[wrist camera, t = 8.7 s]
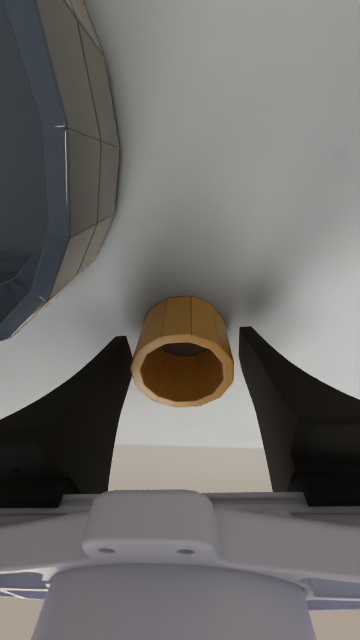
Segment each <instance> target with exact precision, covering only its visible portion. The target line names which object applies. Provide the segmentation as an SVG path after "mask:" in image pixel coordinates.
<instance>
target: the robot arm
mask: <svg viewBox="0 0 360 640" xmlns="http://www.w3.org/2000/svg"><path fill="white" fill-rule="evenodd" d="M132 359H133V357H132V354H131V350H130V347H129V344H128V341H127V338H126V336H117V337H115V338H114V339H113V340H112V341H111V342H110V343H109V344H108V345H107V346H106V347H105V348H104V349H103V350H102V351H101V352H100V353H98V354H97V355H96V356H95V357H94V358H93V359H92V360H91V361H90V362H89V363H88V364H87V365H86V366H84V367H83V368H82V369H81V370H80V371H79V372H77V373H76V374H75V375H74V376H72V377H71V378H70V379H69V380H67V381H66V382H65V383H63V384H62V385H60V386H59V387H57V388H56V389H54V390H53V391H51V392H50V393H48V394H47V395H45V396H44V397H42V398H40V399H39V400H37V401H35V402H34V403H32V404H30V405H28V406H26V407H25V408H23V409H21V410H19V411H17V412H15V413H13V414H11V415H9V416H7V417H5V418H3V419H1V420H0V597H10V598H22V599H34V600H44V603H43V606H42V609H41V612H40V615H39V618H38V621H37V624H36V627H35V630H34V633H33V636H32V639H31V640H316V636H315V633H314V629H313V625H312V622H311V618H310V614H309V611H340V610H341V611H345V610H360V400H359V399H356V398H354V397H352V396H349V395H347V394H345V393H343V392H341V391H339V390H337V389H335V388H333V387H331V386H329V385H327V384H325V383H323V382H321V381H319V380H318V379H316V378H314V377H313V376H311V375H309V374H308V373H306V372H304V371H303V370H301V369H300V368H298V367H297V366H295V365H294V364H292V363H291V362H290V361H288V360H287V359H286V358H284V357H283V356H282V355H281V354H280V353H278V352H277V351H276V350H275V349H274V348H273V347H272V346H270V345H269V344H268V343H267V342H266V341H265V340H264V339H263V338H262V337H261V336H260V335H259V334H258V333H257V332H256V331H255V330H254V329H253V328H252V327H251V326H248V327H240V330H239V359H240V364H241V368H242V372H243V375H244V378H245V381H246V384H247V387H248V390H249V393H250V396H251V398H252V401H253V404H254V408H255V411H256V415H257V419H258V423H259V427H260V432H261V436H262V441H263V445H264V450H265V454H266V459H267V464H268V469H269V473H270V479H271V484H272V489H273V492H245V493H199V492H196V491H190V490H115V491H108V483H109V475H110V468H111V461H112V455H113V448H114V443H115V437H116V432H117V427H118V422H119V417H120V414H121V410H122V407H123V403H124V400H125V397H126V394H127V391H128V387H129V384H130V381H131V377H132V373H131V370H130V366H131V362H132Z"/></svg>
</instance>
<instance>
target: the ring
mask: <svg viewBox="0 0 360 640" xmlns="http://www.w3.org/2000/svg"><path fill="white" fill-rule="evenodd" d="M184 342H190V343H193V344H196V345H199V346H202V347H204V348H207V350H205V351H203V352H201V353H199V354H198V355H196V356H186V357H178V356H175V355H172V354H169V353H166V352H164V351H163V350H162V349H161V348H160V347H161V346H162V345H164V344H170V343H184ZM130 370H131V373H132V376H133V379H134V382H135V385H136V386H137V388H138V389H139V390H141V391H142V392H143V393H144V394H145V395H147V396H148V397H149V398H150V399H152V400H154V401H156V402H160V403H163V404H166V405H170V406H173V407H175V406H176V407H191V406H201V405H203V404H205V403H208V402H210V401H212V400H215V399H217V398H219V397H221V396H222V394H223V393H224V392H225V391H226V390H227V388H228V387H229V386H230V385H231V384H232V382H233V378H234V361H233V357H232V353H231V349H230V345H229V341H228V336H227V332H226V328H225V324H224V320H223V319H222V317H221V316H220V315H219V313H218V312H217V311H216V309H215V308H214V307H213V305H211V304H209V303H207V302H204V301H202V300H199V299H197V298H194V297H192V296H191V297H190V296H184V297H173V298H168V299H165V300H163V301H162V302H161V303H159V304H158V305H156V306H155V307H153V308H152V309H150V310H149V312H148V314H147V317H146V319H145V322H144V324H143V327H142V330H141V333H140V336H139V340H138V343H137V346H136V349H135V353H134V356H133V359H132V362H131V366H130Z"/></svg>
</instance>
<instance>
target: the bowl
mask: <svg viewBox="0 0 360 640" xmlns="http://www.w3.org/2000/svg"><path fill="white" fill-rule="evenodd" d="M103 56H104V55H103V51H102V49H101V46H100V44H99V41H98V39H97V36H96V34H95V31H94V28H93V26H92V23H91V21H90V18H89V16H88V13H87V11H86V8H85V5H84V3H83V0H0V341H3V340H6V339H9V338H11V337H13V336H14V335H15V334H16V333H18V332H19V331H20V330H21V329H22V328H23V327H24V326H25V325H26V324H27V323H28V322H30V321H31V320H32V319H33V318H34V317H35V316H36V315H37V314H38V313H39V312H40V311H42V310H43V309H44V308H45V307H46V306H47V305H48V304H49V303H50V302H51V301H52V300H53V299H55V298H56V297H57V296H58V295H59V294H60V293H61V292H62V291H63V290H64V289H65V288H67V287H68V286H69V285H70V284H71V283H72V282H73V281H74V280H75V279H76V278H77V277H78V276H79V275H80V274H81V273H82V272H83V271H84V270H85V269H86V268H87V267H88V266H89V265H90V264H91V263H92V262H93V261H94V260H95V258H96V256H97V254H98V251H99V249H100V247H101V244H102V242H103V240H104V237H105V235H106V233H107V230H108V228H109V226H110V223H111V221H112V219H113V216H114V212H115V200H116V188H117V176H118V164H119V153H120V150H119V141H118V135H117V129H116V123H115V117H114V111H113V105H112V99H111V93H110V87H109V81H108V75H107V69H106V63H105V59H104V57H103Z"/></svg>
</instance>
